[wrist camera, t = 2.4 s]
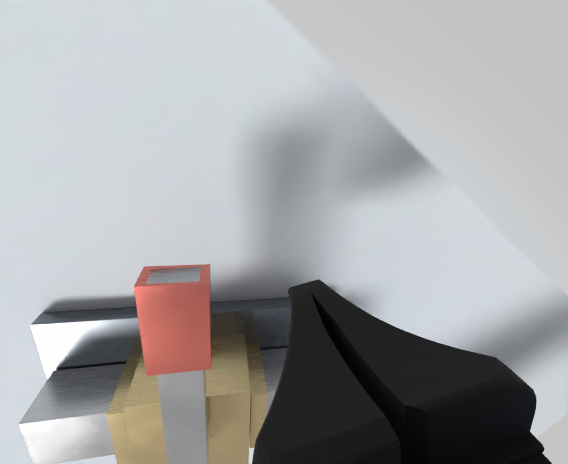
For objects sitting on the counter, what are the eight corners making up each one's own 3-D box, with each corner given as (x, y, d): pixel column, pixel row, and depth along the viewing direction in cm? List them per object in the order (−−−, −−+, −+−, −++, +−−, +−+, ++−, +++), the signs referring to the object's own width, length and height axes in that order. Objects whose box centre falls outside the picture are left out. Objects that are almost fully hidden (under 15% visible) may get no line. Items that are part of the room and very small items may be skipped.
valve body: (323, 295, 19) (356, 352, 14) (309, 395, 22) (333, 467, 18) (41, 313, 15) (-34, 395, 11) (74, 427, 19) (27, 528, 14)
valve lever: (215, 449, 14) (215, 488, 13) (169, 457, 14) (163, 498, 13) (210, 260, 11) (208, 283, 9) (146, 261, 10) (133, 286, 9)
